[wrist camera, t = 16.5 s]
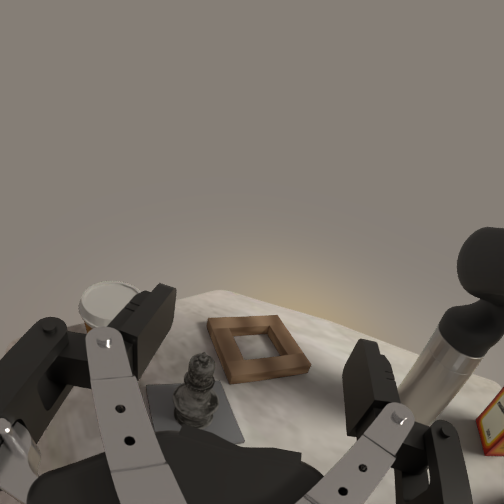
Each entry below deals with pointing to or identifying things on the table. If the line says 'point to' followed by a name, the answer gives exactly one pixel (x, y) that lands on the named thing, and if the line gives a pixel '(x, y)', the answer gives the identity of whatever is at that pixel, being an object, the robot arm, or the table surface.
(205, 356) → the black chess piece
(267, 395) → the table surface
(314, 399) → the table surface
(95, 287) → the disposable coffee cup
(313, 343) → the table surface
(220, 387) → the charcoal coaster
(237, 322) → the walnut holder
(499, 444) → the baking soda box
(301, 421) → the table surface
